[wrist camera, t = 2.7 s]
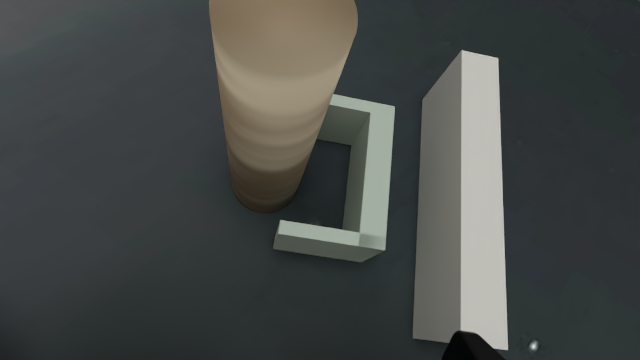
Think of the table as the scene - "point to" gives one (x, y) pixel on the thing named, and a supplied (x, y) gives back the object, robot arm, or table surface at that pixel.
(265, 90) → the dowel
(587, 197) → the table surface
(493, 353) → the robot arm
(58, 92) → the table surface
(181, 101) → the table surface
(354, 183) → the bracket
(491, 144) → the wall
